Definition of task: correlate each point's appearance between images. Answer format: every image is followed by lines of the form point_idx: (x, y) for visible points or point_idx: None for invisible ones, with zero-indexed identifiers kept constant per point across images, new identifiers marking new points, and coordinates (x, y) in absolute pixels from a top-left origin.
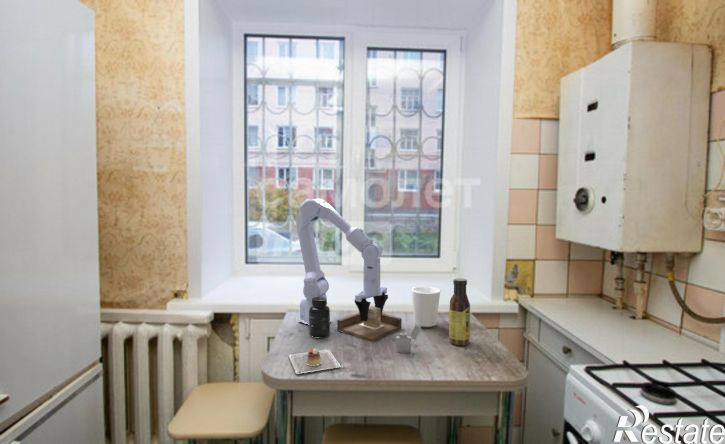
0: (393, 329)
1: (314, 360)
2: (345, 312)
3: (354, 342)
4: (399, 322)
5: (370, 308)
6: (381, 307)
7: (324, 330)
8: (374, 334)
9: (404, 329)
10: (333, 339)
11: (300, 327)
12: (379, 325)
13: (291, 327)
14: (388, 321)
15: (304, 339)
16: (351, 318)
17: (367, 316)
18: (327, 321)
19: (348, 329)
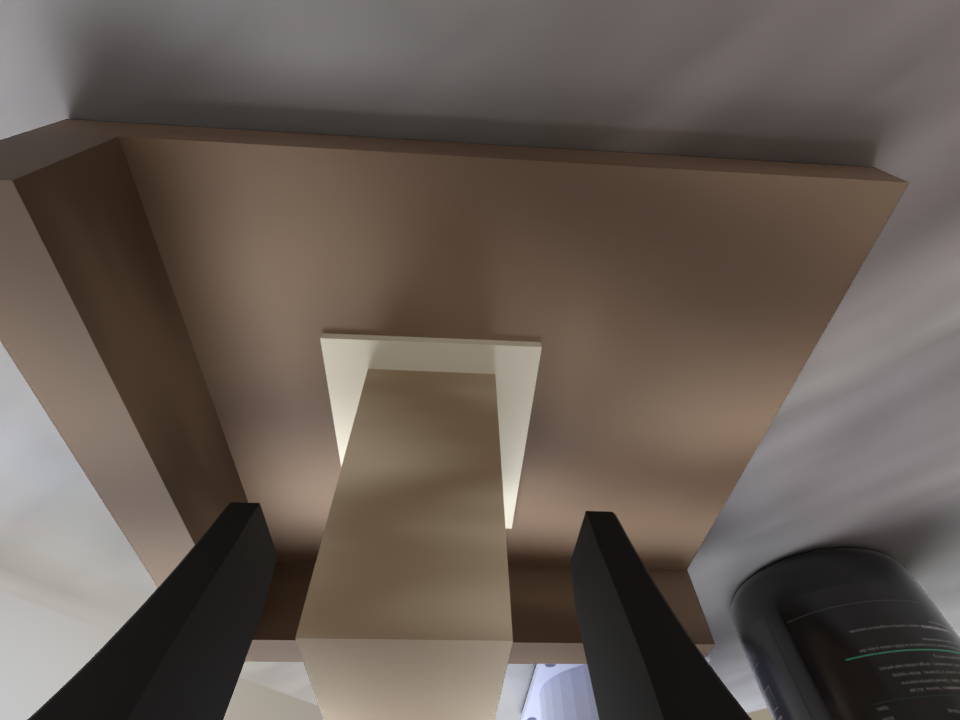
0: (297, 144)
1: None
2: (303, 680)
3: (936, 324)
4: (45, 155)
5: (456, 708)
6: (176, 647)
7: (919, 609)
8: (706, 251)
9: (40, 33)
10: (892, 491)
11: (724, 683)
12: (389, 375)
13: (746, 700)
14: (177, 363)
15: (939, 597)
16: (542, 627)
17: (620, 574)
18: (949, 699)
19: (681, 523)
